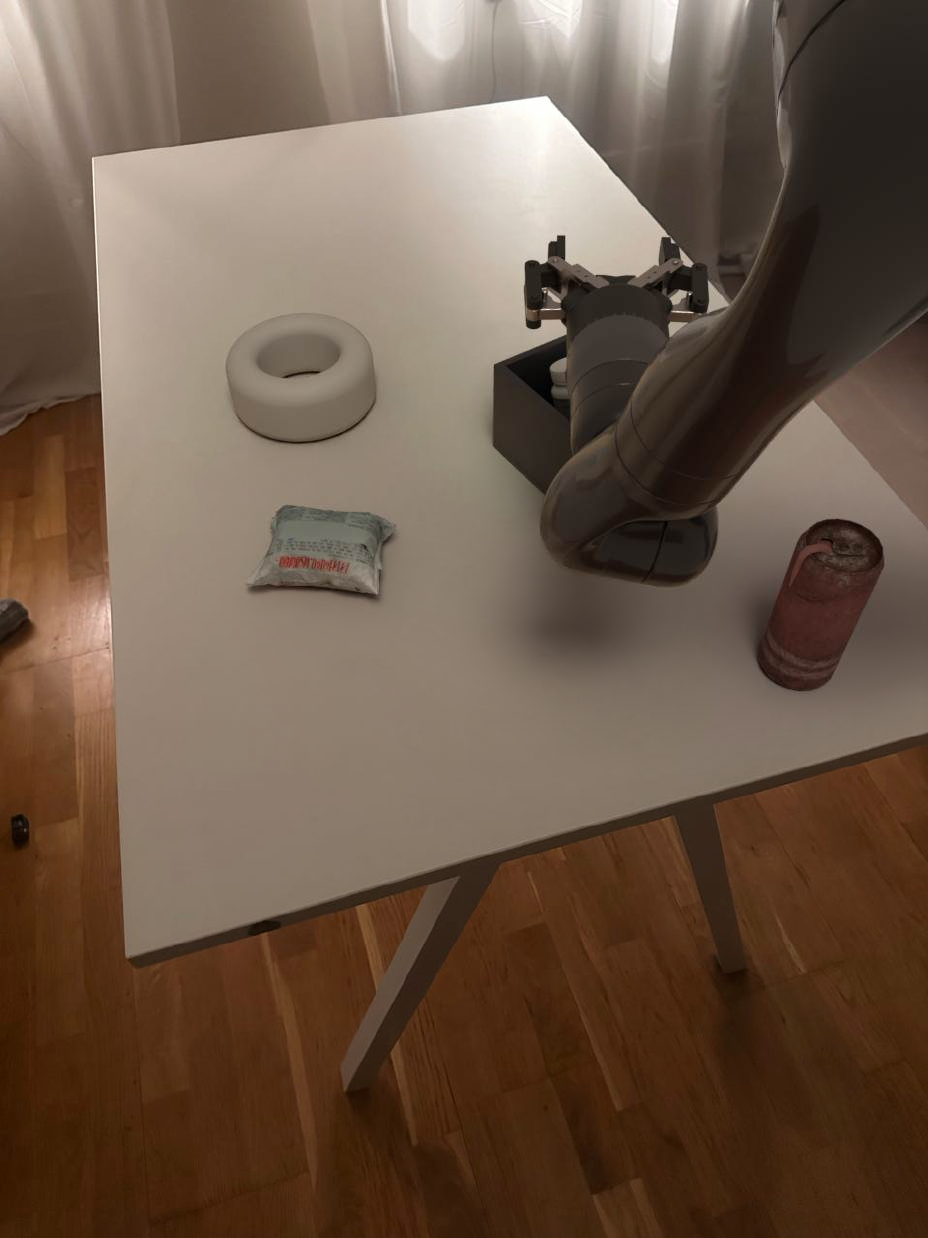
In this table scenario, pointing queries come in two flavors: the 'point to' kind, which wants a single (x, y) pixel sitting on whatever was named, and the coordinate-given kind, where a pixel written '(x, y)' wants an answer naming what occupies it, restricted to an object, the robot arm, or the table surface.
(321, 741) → the table surface
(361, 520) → the packaged food
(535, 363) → the trash bin
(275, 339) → the donut shape
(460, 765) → the table surface
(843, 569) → the can
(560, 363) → the pill bottle
